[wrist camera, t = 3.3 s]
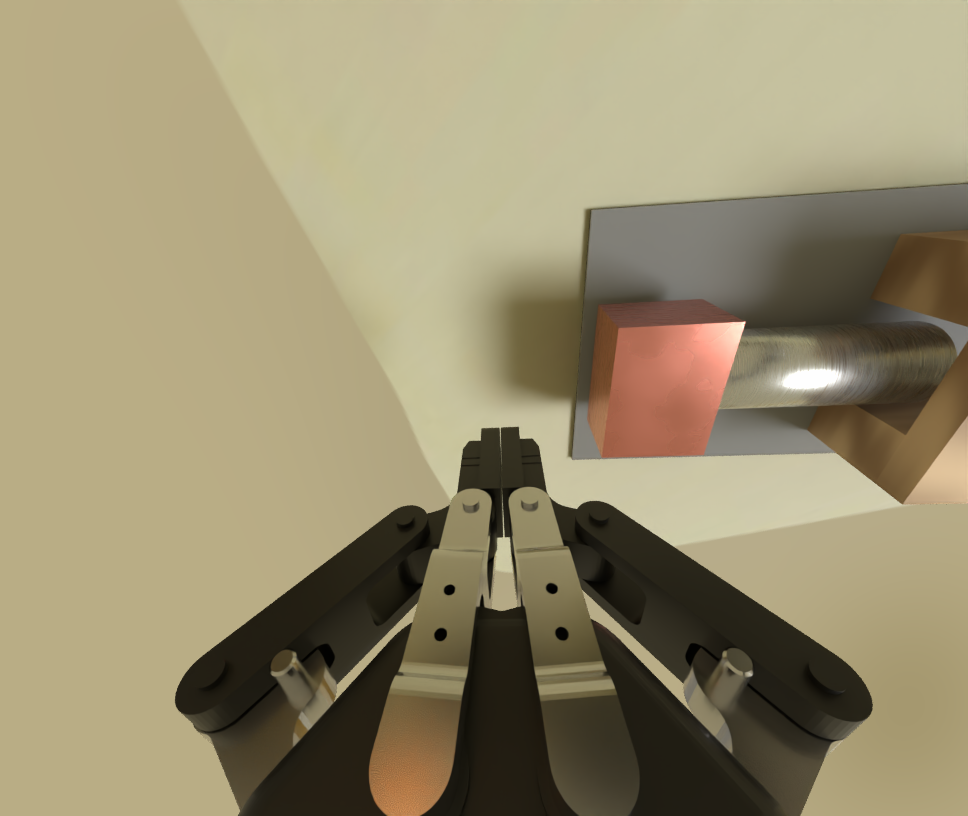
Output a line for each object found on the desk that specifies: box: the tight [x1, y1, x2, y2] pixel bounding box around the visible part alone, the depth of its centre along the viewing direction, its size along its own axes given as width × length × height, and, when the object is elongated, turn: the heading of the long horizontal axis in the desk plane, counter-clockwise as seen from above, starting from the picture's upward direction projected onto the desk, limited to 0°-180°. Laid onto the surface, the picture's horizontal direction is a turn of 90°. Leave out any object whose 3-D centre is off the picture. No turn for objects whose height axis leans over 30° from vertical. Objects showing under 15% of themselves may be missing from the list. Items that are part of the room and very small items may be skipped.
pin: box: [587, 299, 957, 458], centre depth 18 cm, size 15×7×5 cm, turn 94°
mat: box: [572, 184, 968, 460], centre depth 20 cm, size 15×22×1 cm
